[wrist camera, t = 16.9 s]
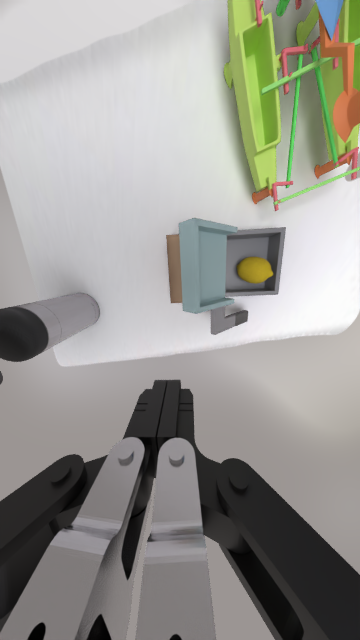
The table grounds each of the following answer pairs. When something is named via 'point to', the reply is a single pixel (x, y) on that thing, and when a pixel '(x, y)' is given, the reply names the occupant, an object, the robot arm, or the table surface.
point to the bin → (254, 245)
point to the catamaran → (262, 85)
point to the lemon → (254, 270)
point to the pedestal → (174, 268)
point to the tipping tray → (206, 272)
